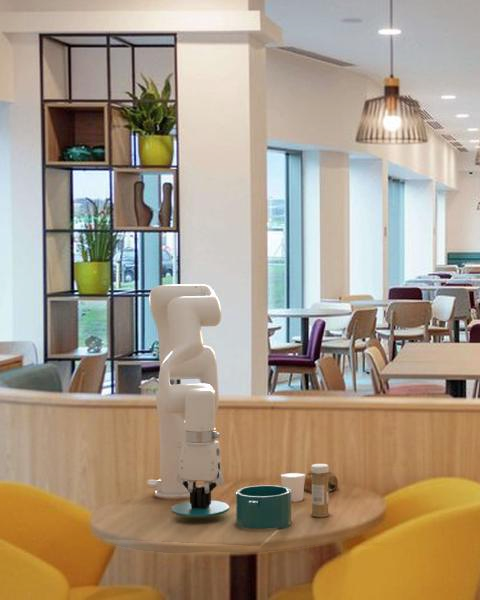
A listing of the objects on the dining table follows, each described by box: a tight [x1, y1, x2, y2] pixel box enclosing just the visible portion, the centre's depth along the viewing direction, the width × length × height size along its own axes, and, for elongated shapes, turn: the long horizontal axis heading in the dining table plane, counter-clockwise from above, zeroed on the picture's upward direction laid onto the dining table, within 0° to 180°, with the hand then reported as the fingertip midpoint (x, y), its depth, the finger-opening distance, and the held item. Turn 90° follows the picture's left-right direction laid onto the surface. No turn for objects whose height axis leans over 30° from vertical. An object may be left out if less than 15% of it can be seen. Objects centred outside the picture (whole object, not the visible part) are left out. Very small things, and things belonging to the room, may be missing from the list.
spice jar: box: [310, 463, 330, 518], centre depth 279 cm, size 5×5×14 cm
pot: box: [235, 484, 292, 530], centre depth 270 cm, size 14×19×8 cm
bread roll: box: [304, 469, 339, 493], centre depth 311 cm, size 10×10×8 cm
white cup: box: [280, 472, 306, 503], centre depth 298 cm, size 7×7×7 cm
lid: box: [171, 484, 230, 518], centre depth 275 cm, size 15×15×7 cm
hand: (200, 506), depth 275 cm, fingers closed on lid, 2 cm apart
